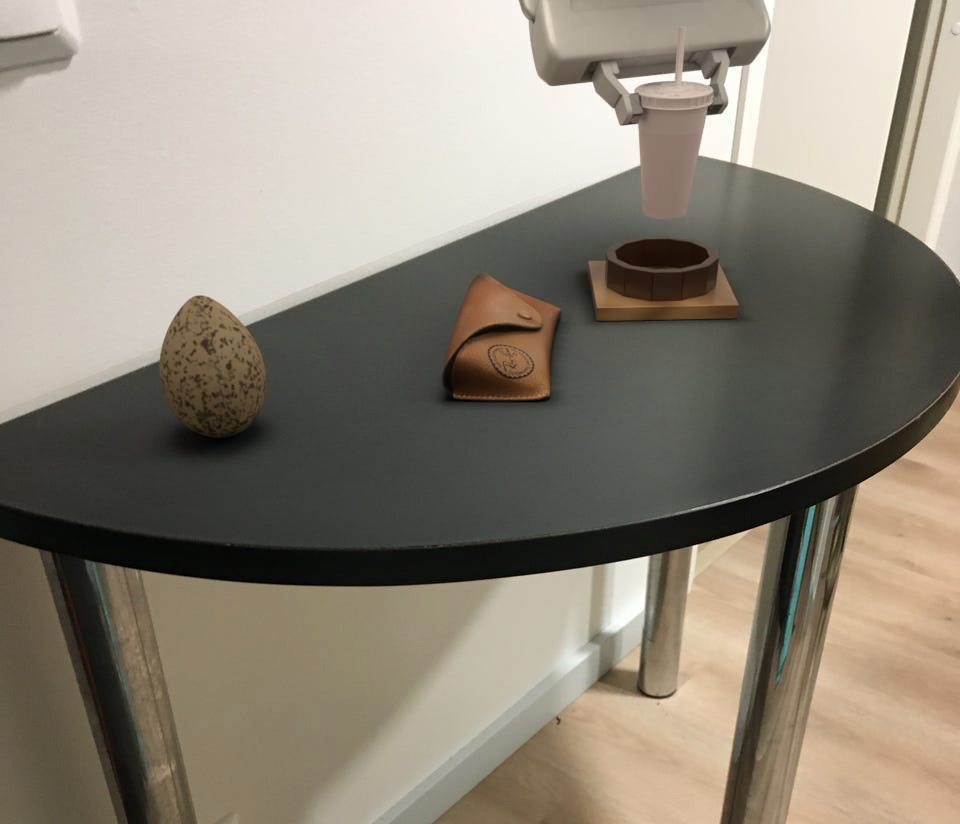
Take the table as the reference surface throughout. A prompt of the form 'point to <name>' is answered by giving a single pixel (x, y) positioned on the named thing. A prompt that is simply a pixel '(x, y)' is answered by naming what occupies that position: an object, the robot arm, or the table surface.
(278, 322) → the table surface
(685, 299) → the dock pad
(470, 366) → the sunglasses case
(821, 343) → the table surface
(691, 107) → the smoothie
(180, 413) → the decorative egg
